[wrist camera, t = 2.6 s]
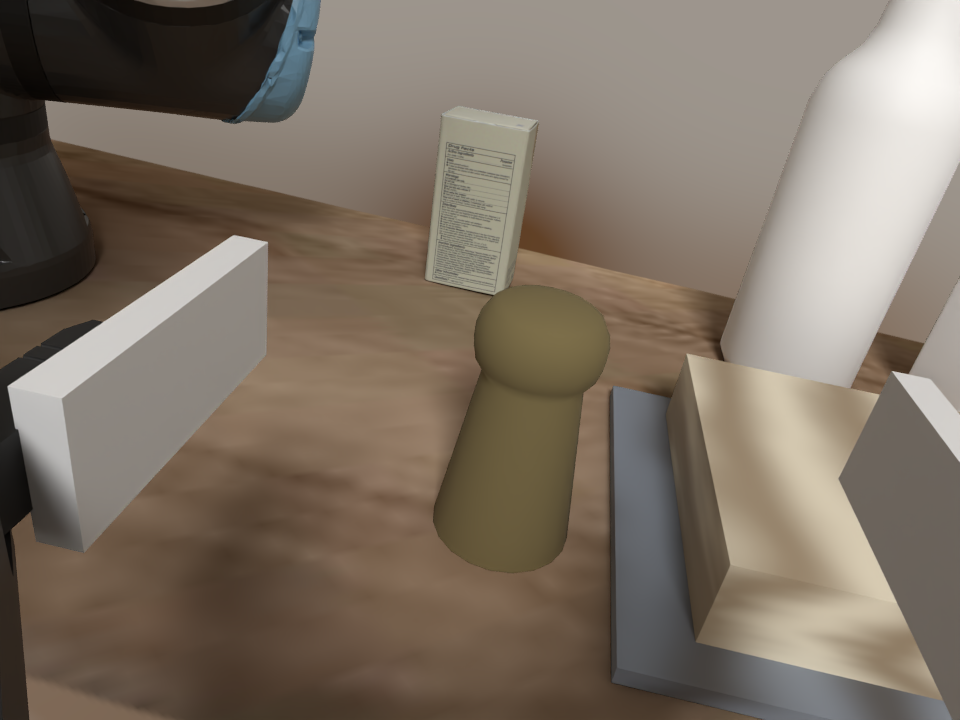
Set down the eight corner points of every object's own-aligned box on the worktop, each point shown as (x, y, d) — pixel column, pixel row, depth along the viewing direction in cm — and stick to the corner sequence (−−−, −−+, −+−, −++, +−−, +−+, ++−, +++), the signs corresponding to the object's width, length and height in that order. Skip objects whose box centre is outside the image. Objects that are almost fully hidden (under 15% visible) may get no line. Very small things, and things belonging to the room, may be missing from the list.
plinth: (611, 682, 26) (647, 587, 23) (610, 396, 43) (630, 326, 41) (1250, 837, 24) (1357, 753, 22) (983, 478, 42) (1027, 410, 40)
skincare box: (513, 279, 57) (545, 120, 51) (502, 300, 53) (534, 131, 47) (435, 260, 57) (457, 102, 52) (419, 279, 54) (440, 111, 48)
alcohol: (788, 417, 45) (1052, -176, 30) (689, 347, 51) (868, -170, 36) (873, 396, 49) (1140, -131, 34) (772, 335, 55) (961, -132, 41)
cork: (440, 573, 29) (484, 333, 24) (426, 476, 34) (460, 260, 29) (582, 573, 30) (654, 344, 25) (549, 479, 35) (603, 274, 30)
